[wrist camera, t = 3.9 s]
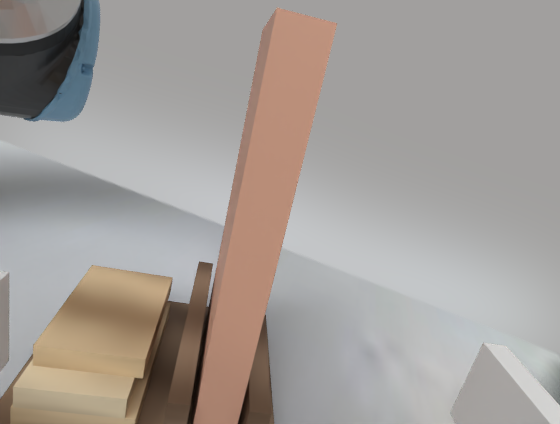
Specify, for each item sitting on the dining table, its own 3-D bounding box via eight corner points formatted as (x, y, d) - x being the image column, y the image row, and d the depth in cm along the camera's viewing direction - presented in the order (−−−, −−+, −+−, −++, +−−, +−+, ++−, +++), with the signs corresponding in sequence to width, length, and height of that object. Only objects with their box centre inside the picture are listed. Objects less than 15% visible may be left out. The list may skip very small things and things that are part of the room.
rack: (78, 305, 31) (83, 239, 29) (261, 330, 33) (276, 270, 31) (-45, 488, 18) (-50, 389, 16) (272, 511, 20) (299, 426, 18)
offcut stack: (87, 305, 29) (90, 260, 27) (168, 317, 29) (175, 273, 28) (10, 426, 19) (10, 365, 18) (133, 438, 20) (140, 380, 19)
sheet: (207, 314, 31) (262, 29, 24) (233, 318, 31) (295, 38, 25) (185, 461, 20) (276, 7, 13) (227, 465, 20) (337, 23, 13)
